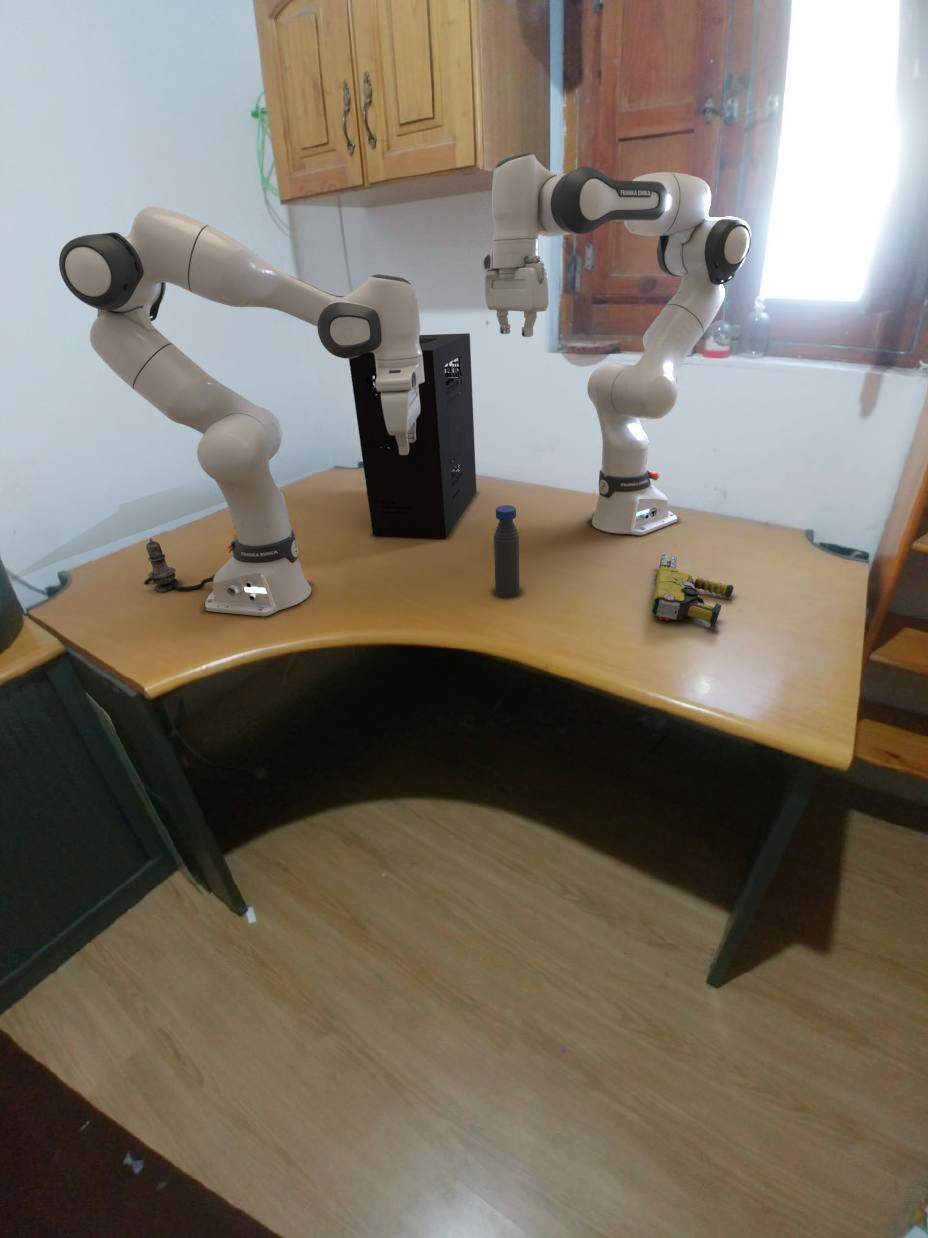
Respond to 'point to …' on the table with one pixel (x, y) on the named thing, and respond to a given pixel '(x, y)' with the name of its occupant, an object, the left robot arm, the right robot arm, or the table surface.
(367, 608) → the table surface
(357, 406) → the black boxy piece
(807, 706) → the table surface
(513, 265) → the right robot arm
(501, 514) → the cap
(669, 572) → the toy gun
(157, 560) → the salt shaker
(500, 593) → the bottle
